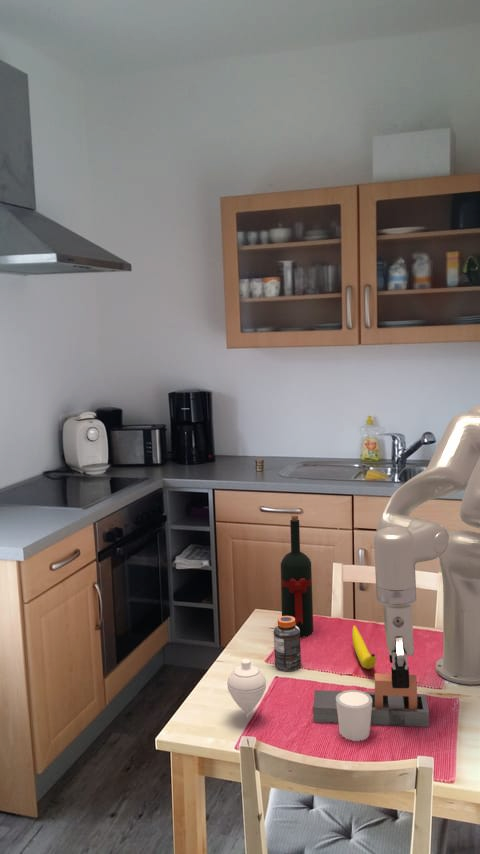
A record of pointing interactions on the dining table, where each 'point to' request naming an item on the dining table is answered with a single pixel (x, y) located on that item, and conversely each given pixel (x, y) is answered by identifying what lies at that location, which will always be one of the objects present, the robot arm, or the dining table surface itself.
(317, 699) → the grey slotted block
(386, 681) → the orange block
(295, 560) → the wine bottle
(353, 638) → the banana
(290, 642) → the pill bottle
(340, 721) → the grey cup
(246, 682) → the spinning top
